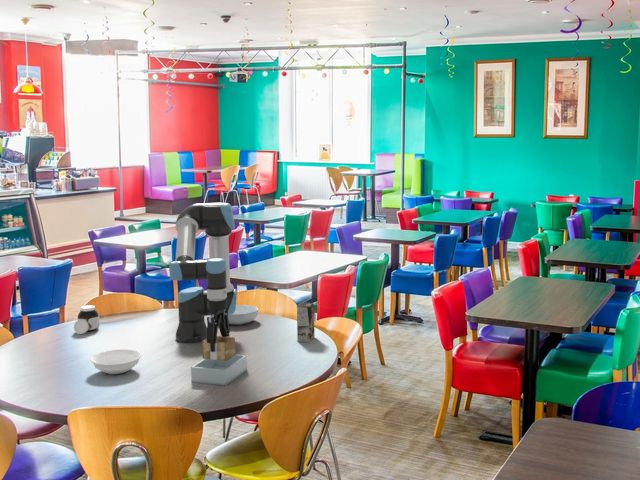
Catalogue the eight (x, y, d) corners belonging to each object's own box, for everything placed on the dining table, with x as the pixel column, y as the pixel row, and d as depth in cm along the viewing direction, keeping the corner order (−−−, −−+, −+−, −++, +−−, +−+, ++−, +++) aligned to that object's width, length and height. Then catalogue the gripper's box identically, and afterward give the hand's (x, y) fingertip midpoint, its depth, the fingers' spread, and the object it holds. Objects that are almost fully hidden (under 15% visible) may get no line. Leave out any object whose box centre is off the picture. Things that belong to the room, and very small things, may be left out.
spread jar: (99, 327, 373) (98, 304, 372) (100, 333, 363) (99, 309, 361) (73, 329, 370) (72, 306, 368) (74, 335, 359) (72, 311, 357)
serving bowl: (267, 320, 382) (266, 307, 381) (241, 330, 365) (240, 316, 364) (234, 315, 393) (234, 302, 392) (207, 324, 376) (207, 311, 375)
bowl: (115, 383, 291) (114, 367, 290) (80, 375, 302) (79, 359, 301) (152, 369, 308) (152, 353, 307) (118, 361, 318) (117, 346, 317)
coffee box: (310, 342, 342) (310, 307, 340) (297, 341, 344) (296, 306, 341) (315, 336, 351) (314, 302, 349) (301, 336, 352) (300, 302, 350)
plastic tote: (191, 382, 291) (190, 367, 290) (214, 366, 309) (213, 352, 308) (225, 385, 287) (225, 370, 286) (246, 370, 305) (246, 355, 304)
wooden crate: (202, 358, 294) (202, 341, 293) (212, 352, 302) (211, 335, 301) (226, 360, 291) (225, 342, 290) (235, 354, 299) (234, 337, 298)
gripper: (213, 305, 282) (215, 364, 286) (237, 293, 302) (239, 349, 305) (195, 304, 285) (197, 363, 288) (220, 292, 304) (222, 348, 308)
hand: (219, 356), depth 297 cm, fingers closed on wooden crate, 8 cm apart
